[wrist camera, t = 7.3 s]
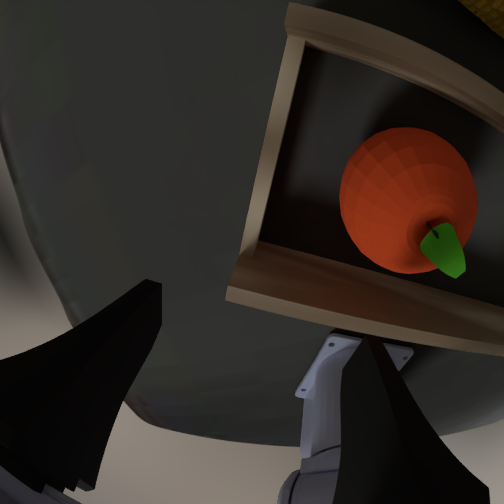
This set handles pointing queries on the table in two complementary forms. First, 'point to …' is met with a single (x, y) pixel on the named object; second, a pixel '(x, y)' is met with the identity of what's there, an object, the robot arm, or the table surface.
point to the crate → (341, 274)
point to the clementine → (409, 201)
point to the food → (488, 13)
